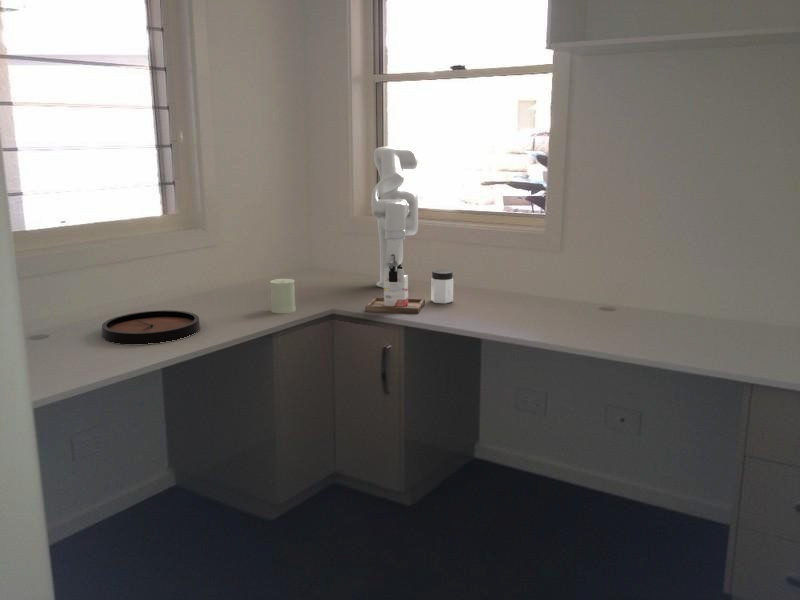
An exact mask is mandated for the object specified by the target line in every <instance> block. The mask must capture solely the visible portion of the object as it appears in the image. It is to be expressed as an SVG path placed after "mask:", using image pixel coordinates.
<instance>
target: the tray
mask: <svg viewBox="0 0 800 600" xmlns="http://www.w3.org/2000/svg"><path fill="white" fill-rule="evenodd" d="M425 304H426V300H425V298H410V297H408V305H407V306H405V307H396V306H384V296H383V297H382V296H379V297H378V296H374V298H372V300H370V301H369V302H368V304H366V306H365V312H371V313H391V314H393V313H394V314H417V315H418V314H420V311H422V308H423V307H424V306H425Z"/></svg>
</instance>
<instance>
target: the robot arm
mask: <svg viewBox="0 0 800 600" xmlns="http://www.w3.org/2000/svg"><path fill="white" fill-rule="evenodd" d="M418 159H419V158H418V152H417V150H416V148H415V147H414V146H390V145H389V146H380V147H376V148H375V149H374V151H373V160H374V164H375V167H376V169H377V171H378V175H379V181H378V182H377V183H376V185H375V186H374V188H373V189H372V193H371V213H372V216H373V217H374V218H375V219H377V220H376V221H377V231H378V238H379V281H377V282H376V286H377V287H379V288H383V289H384V268H389V282H397V272H396V271H397V269H403V260H404V240H406V236H414V235H416V234H417V233H418V231H419V196H418V192H417V190H416V189H415V188H413V187H401V186H402V185H403V183H404V170H415V169H416V168H417V166H418V162H419V161H418ZM379 198H380V199H379Z"/></svg>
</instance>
